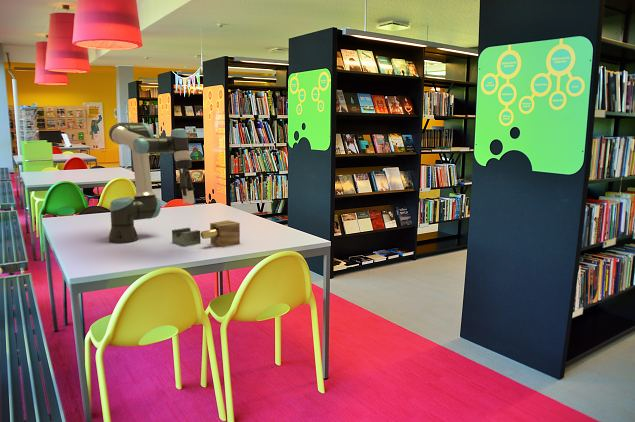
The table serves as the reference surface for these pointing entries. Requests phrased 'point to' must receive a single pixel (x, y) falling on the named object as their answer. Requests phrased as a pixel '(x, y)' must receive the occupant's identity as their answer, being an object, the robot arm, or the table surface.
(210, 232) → the axle
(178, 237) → the v block
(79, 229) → the table surface
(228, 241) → the wooden cube block
